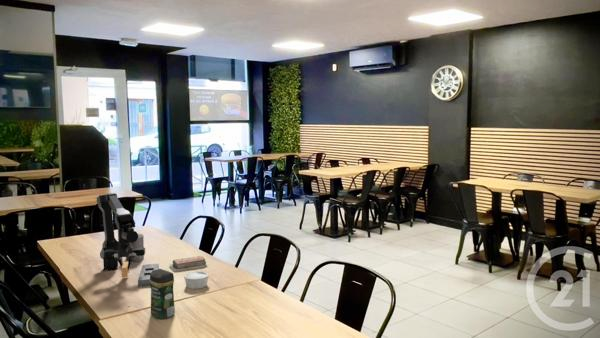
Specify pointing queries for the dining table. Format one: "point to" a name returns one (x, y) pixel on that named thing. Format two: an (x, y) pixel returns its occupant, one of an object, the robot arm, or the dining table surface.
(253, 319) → the dining table surface
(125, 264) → the long orange beam
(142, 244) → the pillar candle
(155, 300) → the coffee jar
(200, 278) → the ramekin
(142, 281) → the grey slotted plate
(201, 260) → the packaged product
